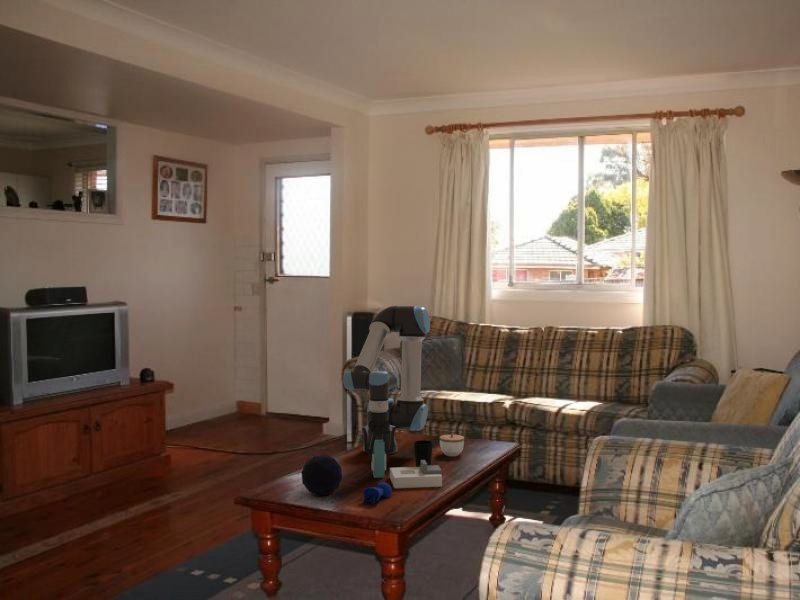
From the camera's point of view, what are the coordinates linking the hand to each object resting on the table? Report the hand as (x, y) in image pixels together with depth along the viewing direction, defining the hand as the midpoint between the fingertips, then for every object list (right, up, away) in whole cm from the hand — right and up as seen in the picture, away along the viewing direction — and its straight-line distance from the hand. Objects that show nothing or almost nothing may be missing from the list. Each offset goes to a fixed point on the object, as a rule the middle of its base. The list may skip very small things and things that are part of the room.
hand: (378, 469), depth 309 cm
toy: (+1, -5, -29) cm, 29 cm away
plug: (0, -3, 0) cm, 3 cm away
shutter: (+20, +1, -7) cm, 21 cm away
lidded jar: (+31, -1, +35) cm, 46 cm away
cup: (+18, -3, +7) cm, 19 cm away
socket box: (+14, -3, -8) cm, 17 cm away
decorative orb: (-20, -4, -24) cm, 31 cm away
